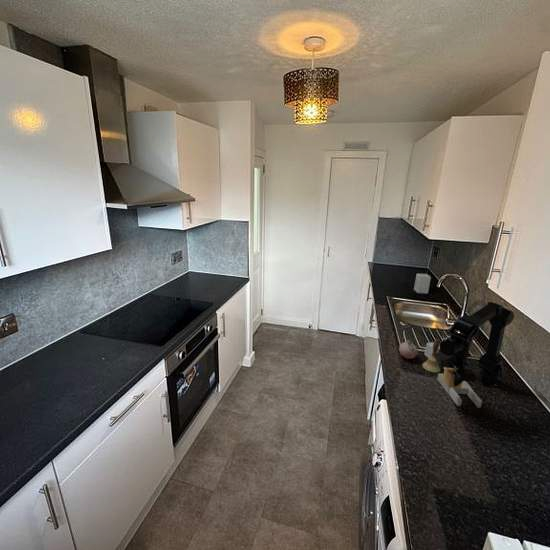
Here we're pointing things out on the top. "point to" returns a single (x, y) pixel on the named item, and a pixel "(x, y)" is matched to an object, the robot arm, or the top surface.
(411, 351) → the decorative fruit
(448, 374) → the cardboard shipping carton
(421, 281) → the supplement box
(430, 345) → the product box
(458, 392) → the two-pronged gray clamp
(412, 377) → the top surface
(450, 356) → the robot arm
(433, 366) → the hand bell
